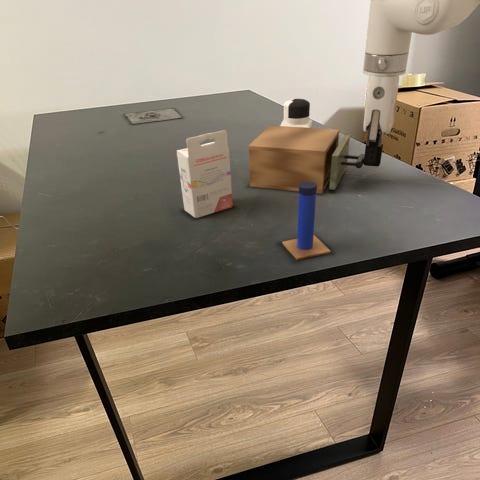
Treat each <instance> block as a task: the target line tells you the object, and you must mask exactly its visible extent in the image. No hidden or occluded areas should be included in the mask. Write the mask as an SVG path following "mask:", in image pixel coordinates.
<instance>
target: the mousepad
mask: <svg viewBox="0 0 480 480" xmlns="http://www.w3.org/2000/svg"><path fill="white" fill-rule="evenodd" d="M125 116H126V118H127V120H129V121H130V123H131V124H132V125H136V124H143V123H151V122H160V121H168V120H175V119H182V116H181V115H180V114H179V113H178V112H177V111H176V110H175V108H173V107H172V108H163V109H154V110H148V111H147V110H146V111H140V112H139V111H138V112H132V113H125Z"/></svg>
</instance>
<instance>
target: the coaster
mask: <svg viewBox="0 0 480 480" xmlns="http://www.w3.org/2000/svg"><path fill="white" fill-rule="evenodd" d="M281 244H282V245H283V246H284V247H285V249H286V250H287V251H288V253H290V254H291V256H293V258H294V259H295V260H296V261H300V260H305V259H309V258H314V257H319V256H324V255H327V254H331V251H332V250H330V249H329V248H328V247H327V246H326V245H325V244H324V243H323V242H322V241H321V240H320V238H318V237H317V236H316V235H315V234H314V236H313V247H312V248H311V249H309V250H302V249H299V248H298V247H297V238H293V239H288V240H284V241H283V240H282V242H281Z"/></svg>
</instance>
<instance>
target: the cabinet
mask: <svg viewBox="0 0 480 480" xmlns="http://www.w3.org/2000/svg"><path fill="white" fill-rule="evenodd" d="M336 137H338V138H337V147H338V145H339V141H340V129H336V128H321V127H320V128H318V127H312V128H304V127H287V126H280V125H269V126H267V128H266V129H265V130H264V131H263V132H262V133H260V134H259V135H258V136H257V137H256V138H255V139H254V140H253V141H252V142H251V143H250V144H248V165H249V166H248V167H249V168H248V170H249V187H250V188H261V189H268V190H269V189H270V190H279V191H288V192H289V191H291V192H299V184H300V183H302V182H313V183H316V184H317V192H316V194H320V195H322V194H324V192H325V190H326V188H327V186H328V184H330V176H329V177H328V179H327V181H326V183H325V184H324V172H325V157H326V153H327V151H328V150H329V148H330V147H331V145H332V144H333V142H334V140H335V139H336Z"/></svg>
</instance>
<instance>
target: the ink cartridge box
mask: <svg viewBox="0 0 480 480" xmlns="http://www.w3.org/2000/svg"><path fill="white" fill-rule="evenodd" d="M206 140H209V141H211V142H208V143H203V142H205V141H206ZM212 140H213V141H212ZM185 143H186V148H182V149H177V150H176V158H177V166H178V172H179V178H180V187H181V188H180V189H181V195H182V201H183V209H184V211H185V212H186V213H188V214H189V215H191V216H192V217H193V218H195V219H198V218H202V217H205V216H208V215H211V214H214V213H218V212H222V211H224V210H227V209H230V208H232V207H233V205H234V203H233V190H232V188H233V187H232V173H231V158H230V147H229V142H228V132H227V130H226V129H222V130H219V131H213V132H209V133H203V134H200V135H196V136H191V137H187V138H186V140H185ZM201 143H203V144H201Z"/></svg>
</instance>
